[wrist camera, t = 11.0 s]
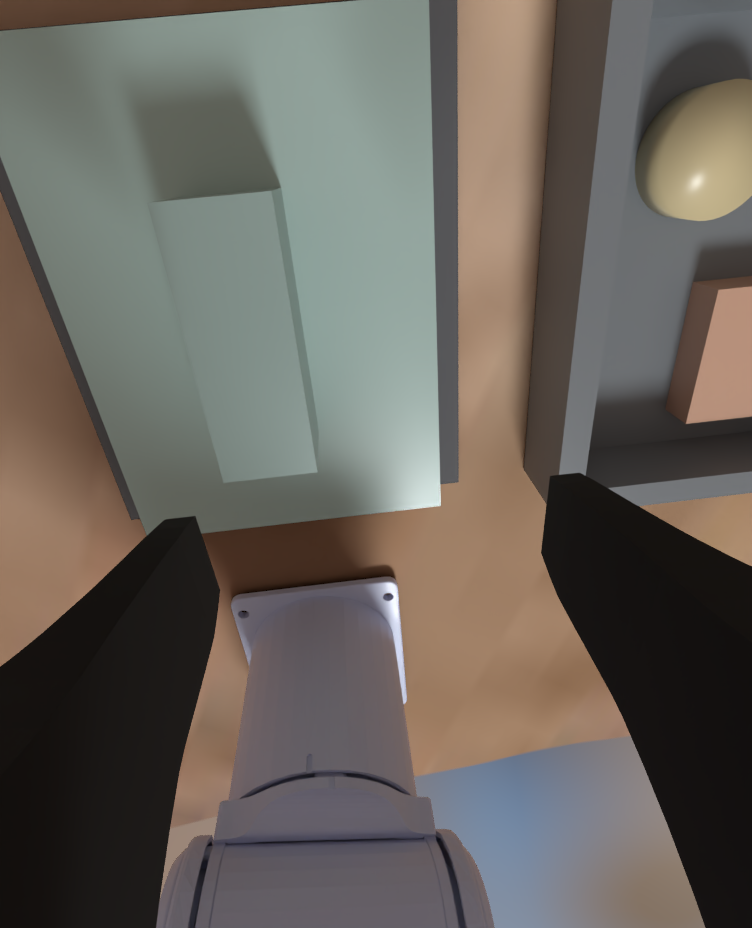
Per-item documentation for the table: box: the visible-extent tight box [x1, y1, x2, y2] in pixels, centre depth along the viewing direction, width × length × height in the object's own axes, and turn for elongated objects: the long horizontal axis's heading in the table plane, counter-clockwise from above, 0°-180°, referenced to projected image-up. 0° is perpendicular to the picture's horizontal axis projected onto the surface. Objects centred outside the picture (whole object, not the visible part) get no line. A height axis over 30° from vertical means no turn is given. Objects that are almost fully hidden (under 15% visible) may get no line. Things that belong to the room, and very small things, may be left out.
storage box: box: [524, 0, 752, 506], centre depth 17 cm, size 16×12×4 cm
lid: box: [0, 0, 441, 535], centre depth 16 cm, size 16×12×4 cm
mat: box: [0, 0, 458, 520], centre depth 18 cm, size 16×14×1 cm
